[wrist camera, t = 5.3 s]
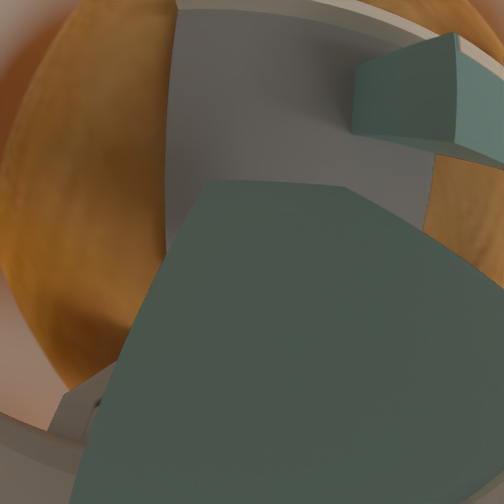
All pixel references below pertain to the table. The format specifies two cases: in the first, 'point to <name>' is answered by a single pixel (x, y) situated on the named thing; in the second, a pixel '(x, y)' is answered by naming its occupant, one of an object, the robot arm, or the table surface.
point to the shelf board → (283, 102)
